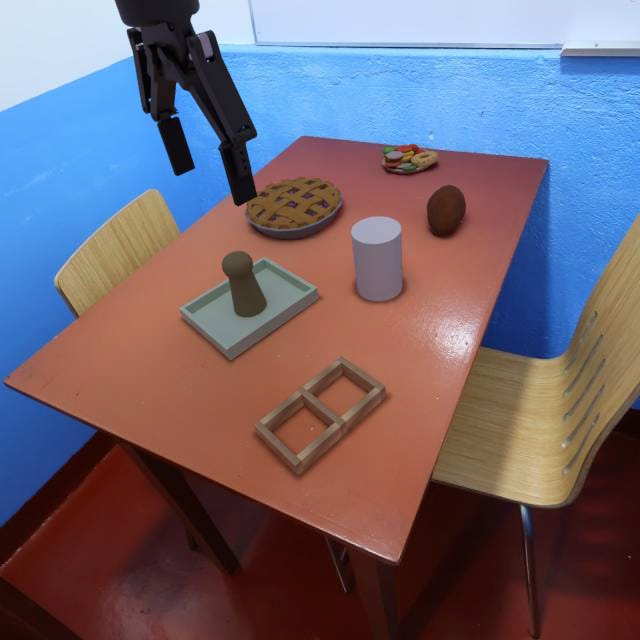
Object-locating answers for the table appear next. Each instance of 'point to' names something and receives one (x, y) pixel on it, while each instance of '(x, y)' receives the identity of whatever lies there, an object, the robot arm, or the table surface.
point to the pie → (294, 207)
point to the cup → (377, 257)
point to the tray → (242, 332)
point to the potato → (445, 209)
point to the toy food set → (407, 159)
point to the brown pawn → (243, 284)
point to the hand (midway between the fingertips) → (213, 185)
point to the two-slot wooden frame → (320, 413)
